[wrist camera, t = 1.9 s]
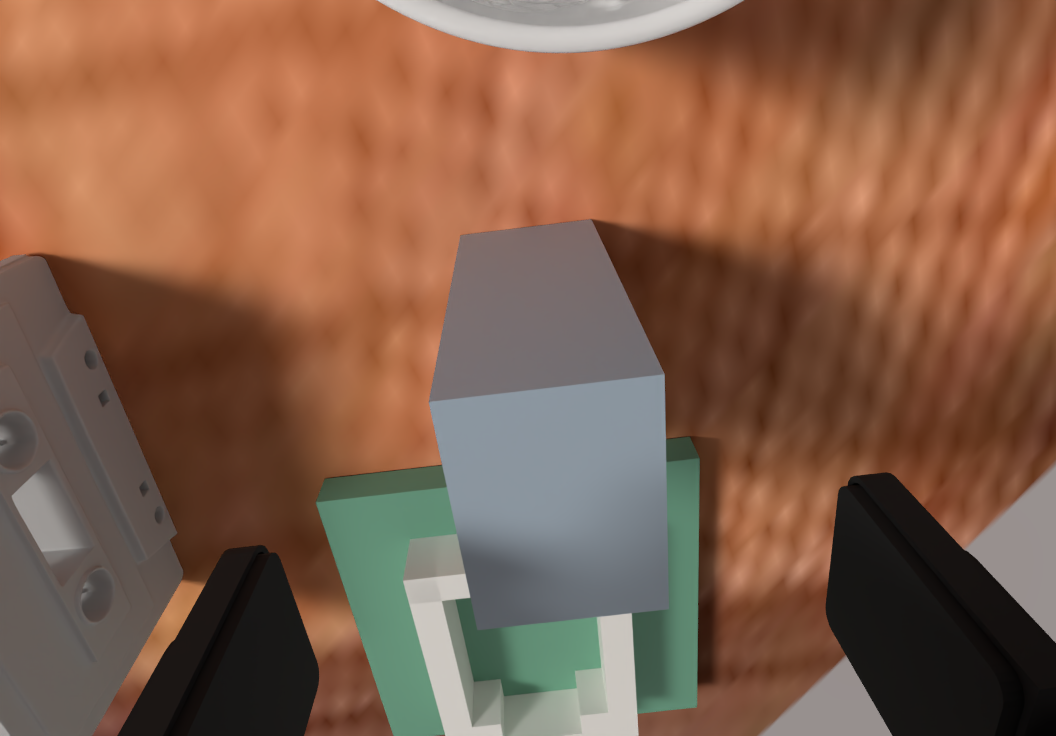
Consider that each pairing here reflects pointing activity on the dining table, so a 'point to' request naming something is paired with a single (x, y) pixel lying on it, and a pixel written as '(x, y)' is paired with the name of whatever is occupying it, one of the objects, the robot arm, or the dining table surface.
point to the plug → (551, 430)
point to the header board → (510, 652)
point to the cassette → (69, 518)
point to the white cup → (560, 21)
